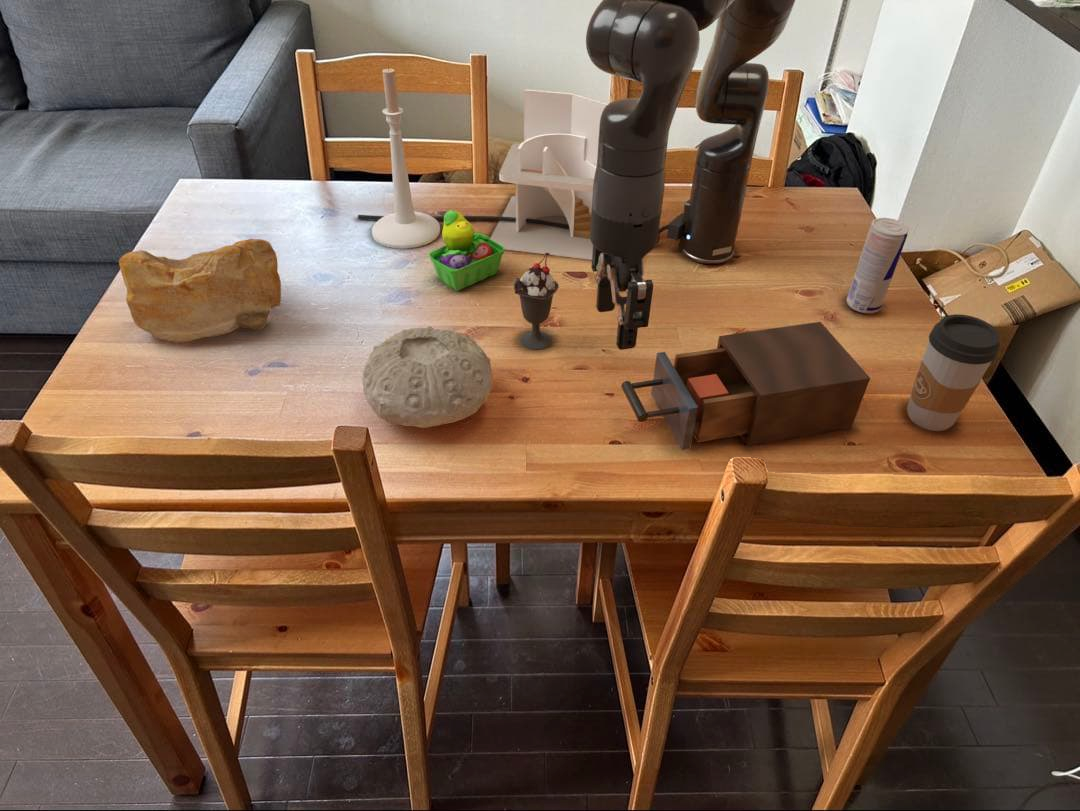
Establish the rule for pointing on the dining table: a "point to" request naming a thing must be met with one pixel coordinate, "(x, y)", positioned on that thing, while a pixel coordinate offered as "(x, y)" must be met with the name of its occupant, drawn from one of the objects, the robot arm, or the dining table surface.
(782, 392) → the cabinet
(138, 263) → the rough brown rock
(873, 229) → the beverage can
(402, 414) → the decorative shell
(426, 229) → the candlestick
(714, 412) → the drawer
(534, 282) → the sundae
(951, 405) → the coffee cup
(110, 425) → the dining table surface
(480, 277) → the fruit basket
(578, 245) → the architectural model
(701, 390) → the block
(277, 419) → the dining table surface
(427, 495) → the dining table surface
